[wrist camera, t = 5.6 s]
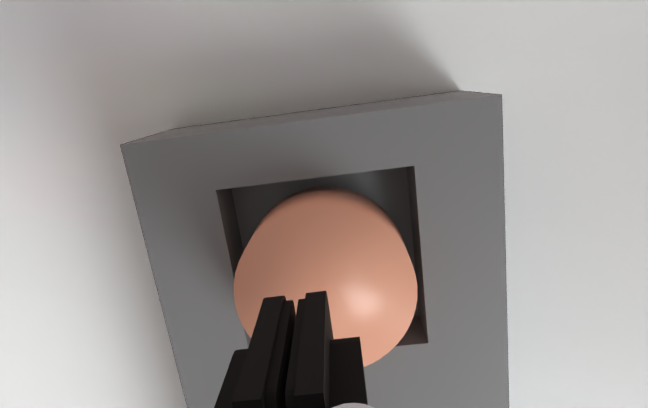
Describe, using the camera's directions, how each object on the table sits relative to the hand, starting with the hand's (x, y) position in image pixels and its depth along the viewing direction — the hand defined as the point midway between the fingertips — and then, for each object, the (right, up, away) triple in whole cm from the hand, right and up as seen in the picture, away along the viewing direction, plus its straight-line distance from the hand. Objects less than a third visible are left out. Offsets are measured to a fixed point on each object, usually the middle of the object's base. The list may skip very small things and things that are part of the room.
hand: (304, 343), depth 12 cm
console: (+2, -7, +12) cm, 15 cm away
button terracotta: (+1, +1, +5) cm, 6 cm away
